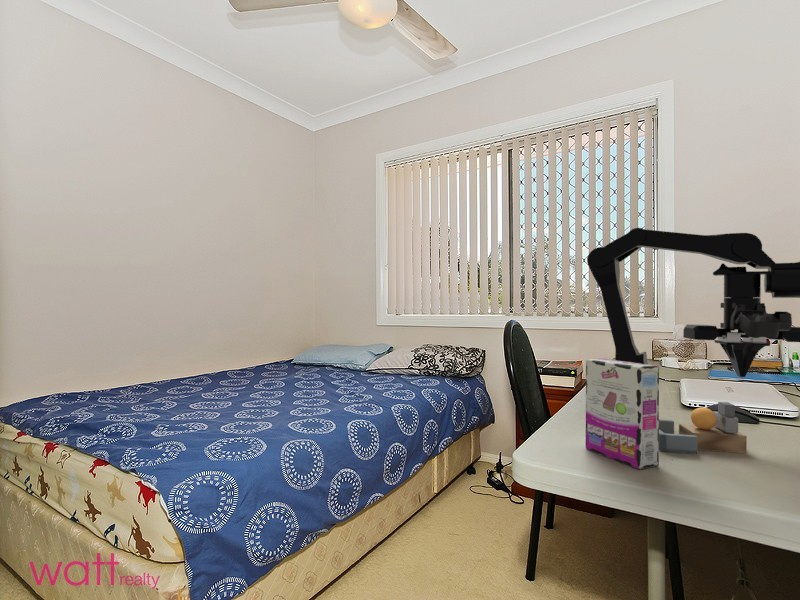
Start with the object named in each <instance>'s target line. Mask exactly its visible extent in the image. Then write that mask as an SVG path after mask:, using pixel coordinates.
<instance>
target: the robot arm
mask: <svg viewBox="0 0 800 600" xmlns="http://www.w3.org/2000/svg"><path fill="white" fill-rule="evenodd" d="M641 248H649V249H654V250H661V251H662V250H664V251H672V252H678V253H679V252H680V253H681V252H682V253H688V254H698V255H703V256H706V257H709V258H713V259H717V260H719V261H722V263H721V264H720V266H719V267H718V268H717V269H716V270H714V271H713V272H712V275H713V276H714V277H716V276H717V277H718V276H719V277H720V276H723V302H721V303H720V308H721V309H723V322H720V325H719V326H720V328H717V325H710V324H686V325H685V326H684V327H683V332H682V333H683V338H685V339H690V340H694V341H695V340H696V341H714V343H715V344H719V346H721V348H722V349H723V351H724V353H725V354H726V356H727V358H728V359H729V362H730V363H731V365H732V368H733V369H734V372H735V374H736V375H737V376H738V377H739V378H745V377H746V376H747V373H748V372H749V370H750V367H751V365H752V363H753V361H754V359H755V358H756V355H757V354H758V352H760V351H761V350H762V349H764V348H765V347H770V346H771V344H772V343H769V342H767V339H768V340H777V341H778V340H779V341H780V340H783V341H785V342H788V343H789V342H790V343H800V326H792V324H793V319H792V313H790V312H788V311H774V313H767V310H766V305H765V304H766V303H765V302H761V300H762V299H761V296H762V295H761V293H762V291H761V290H762V288H761V287H762V286H761V278H762V277H761V276H763V277H764V278H763V279H764V280H763V281H764V283H763V286H764V287H763V289H764V293H768V294H771V298H772V299H790V298H791V299H800V261H798V262H797V261H795V262H779V263H778V262H775V261H774V260H773V258H772V257H770V256H769V255H768V254H767V253H766V252H765V251H764V250H763V243H762V241H761V240H760V238H759V237H758V236H757V235H756V234H753V233H750V232H733V233H731V232H730V233H720V234H718V233H717V234H708V235H706V234H705V235H704V234H693V233H685V232H684V233H683V232H675V231H674V232H673V231H666V230H665V231H663V230H656V229H655V230H654V229H653V230H652V229H645V228H641V227H634V228H631V230H630V231H628V232H627V233H626V234H624V235H622V236H620V237H618V238H617V239H614V240H613V241H610V242H609V243H608V244H606V245H604V246H599V247H595V248H593V249H592V250H591V251H590V252H589V254H588V255H587V258H586V263H587V266H588V267H589V270H590V272H591V274H592V276H593V278H594V280H595V282H596V283H597V285H598V287H599V288H600V292H601V295H602V300H603V304H604V308H605V312H606V316H607V320H608V323H609V328H610V331H611V336H612V339H613V343H614V348H615V358H614V360H617V361H625V362H632V363H640V364H646V365H649V363H648V357H647V356H648V355H647V351H642V352H640V351H639V349H638V348H637V345H636V343H635V341H634V336H633V333H632V329H631V325H630V321H629V318H628V314H627V310H626V305H625V301H624V297H623V294H622V291H621V286H620V282H621V281H620V278H621V276H620V275H621V272H620V271H621V270H620V269H621V267H620V263H621V262H622V261H624V260H626V259H627V258H629V257H630V256H631V255H632V254H633V253H635V252H636V251H637V250H639V249H641ZM723 261H724V262H726V263H729V264H735V265H747V266H749V267H751V268H754V269H755V270H756V271H750V270H749V271H747V266H727V265H726V264H725V263H724V262H723ZM757 270H758V271H757ZM759 270H760V271H759ZM761 270H763V271H761ZM736 330H737V331H736ZM741 339H742V340H741Z"/></svg>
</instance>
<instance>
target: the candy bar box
mask: <svg viewBox="0 0 800 600" xmlns="http://www.w3.org/2000/svg"><path fill="white" fill-rule="evenodd" d="M659 399H660V366H659V365H652V364H648V365H646V364H640V363H632V362H625V361H617V360H615V359H610V358H592V359H591V358H590V359H586V360H585V449H586V450H589V451H591V452H594V453H596V454H599V455H602V456H603V457H607V458H608V459H611V460H614V461H615V462H618V463H620V464H621V463H622V464H623V465H624V464H625V465H627V466H629V467H632V468H635V469H637V470H642V469H648V468H654V467H657V466H659V462H660V459H659V458H660V455H659V452H660V451H659V419H660V418H659V417H660V416H659V415H660V411H659V410H660V406H659V405H660V400H659Z"/></svg>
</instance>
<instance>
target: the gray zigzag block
mask: <svg viewBox="0 0 800 600" xmlns="http://www.w3.org/2000/svg"><path fill="white" fill-rule="evenodd" d="M735 407H736V406H735V404H733V403H730V402H728V401H727V402H726V401H718V402H717V411H715V410H713V412H714V414H715V415H716V417H717V423H716V425H715V427H717V428H719V429H721V430H722V431H724V432H728V433H738V432H739V418H738V417H736V416H735V415H736V413H735V412H736V411H735V410H736V408H735Z"/></svg>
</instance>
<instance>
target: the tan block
mask: <svg viewBox="0 0 800 600" xmlns="http://www.w3.org/2000/svg"><path fill="white" fill-rule="evenodd" d="M678 434H683V435H695V436H697V451H698V450H699V451H709V452H710V451H711V452H712V451H714V452H722V453H723V452H725V453H726V452H727V453H740V454H741V453H742V454H747V452H748V451H747V448H748V447H747V442H748V441H747V437H748V436H747V435H746V434H743V433H741V432H740V431H738V433H728V432H724V431H722V430H721V429H719V428H717V427H715V426H714V427H713V428H711V429H708V430H704V429H700V428H698V427H696V426H695V425H694V424H693V423H692V424H690V423H678Z"/></svg>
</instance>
